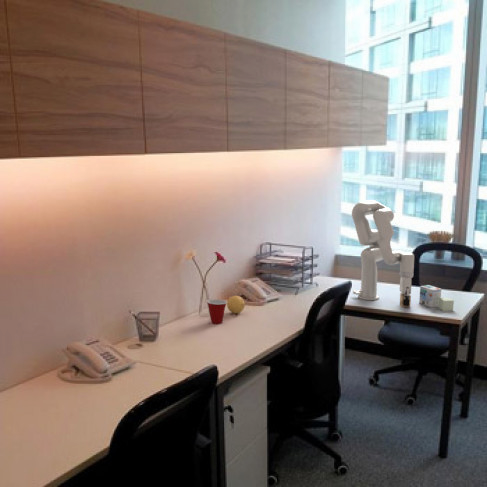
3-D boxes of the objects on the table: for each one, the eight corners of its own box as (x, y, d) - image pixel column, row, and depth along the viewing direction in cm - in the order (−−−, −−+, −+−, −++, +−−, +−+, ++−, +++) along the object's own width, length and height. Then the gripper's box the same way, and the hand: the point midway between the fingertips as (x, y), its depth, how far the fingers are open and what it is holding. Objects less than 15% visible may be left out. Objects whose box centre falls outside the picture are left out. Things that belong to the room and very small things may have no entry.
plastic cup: (231, 322, 275) (231, 300, 273) (217, 327, 267) (217, 304, 265) (216, 318, 282) (216, 296, 280) (202, 322, 274) (202, 301, 272)
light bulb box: (418, 303, 309) (419, 285, 307) (427, 301, 312) (428, 284, 310) (432, 307, 300) (433, 289, 298) (440, 306, 302) (441, 288, 301)
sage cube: (442, 310, 294) (443, 300, 293) (438, 307, 300) (438, 297, 299) (453, 310, 294) (453, 300, 293) (448, 307, 300) (448, 297, 299)
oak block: (401, 307, 301) (401, 295, 300) (399, 304, 306) (400, 293, 305) (410, 307, 301) (410, 295, 300) (408, 305, 306) (409, 293, 304)
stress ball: (230, 317, 286) (243, 307, 282) (220, 302, 288) (233, 292, 285) (238, 315, 295) (251, 306, 291) (229, 301, 297) (241, 291, 294)
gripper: (397, 270, 309) (395, 299, 312) (402, 277, 292) (401, 308, 295) (410, 270, 308) (408, 300, 311) (416, 277, 291) (414, 308, 294)
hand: (405, 303), depth 303 cm, fingers open, 5 cm apart
